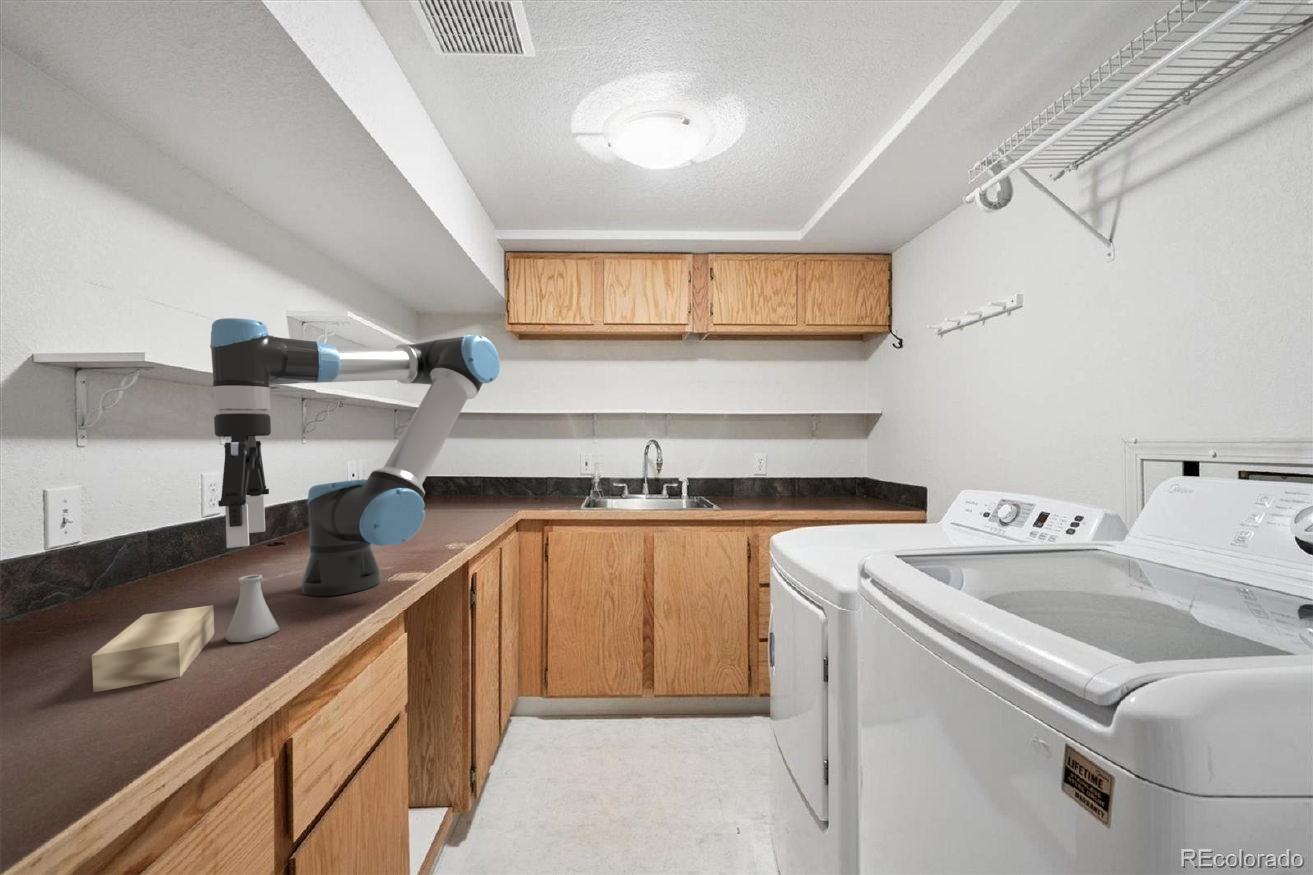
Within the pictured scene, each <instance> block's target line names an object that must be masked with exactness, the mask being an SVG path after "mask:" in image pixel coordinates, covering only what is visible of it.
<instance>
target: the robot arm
mask: <svg viewBox="0 0 1313 875" xmlns="http://www.w3.org/2000/svg"><path fill="white" fill-rule="evenodd" d="M209 347H210V349H211V351H210V352H211V353H210V354H211V365H212V366H211V367H212V380H213V381H212V386H213V392H210V393H209V394H208V396H209V397H208V398H210V399H211V400H213V408H214V411H216V412H218V414H215V416H213V420H214V421H213V422H214V423H213V424H214V435H215V436H216V437H219V438H221V437H222V438H226V437H229V438H231V440H230V442H229V441H228V442H225V443H224V445H223V446H224V447H223V448H224V464H223V474H222V475H223V476H222V486H221V496H220V500H218V501H217V502H218V503H217V504H218V505H217V506H218V507H224V510H225V532H226V533H225V534H226V535H225V536H226V537H225V538H226V548H227V549H230V548H240V547H242V548H243V547H248V546H250V534H253V533H263V532H265V531H266V518H265V517H266V516H265V515H266V512H265V496H266V495H270V488H267V485H266V479H265V470H264V464H263V457H262V447H261V446H262V442H261V440H257V439H256V437H264V436H265V437H267V436H270V435H271V433H272V427H271V426H272V425H271V423H272V422H271V415H270V414H269V413H268V414H267V412H268V411H270V410H271V392H270V391H271V388H270V386H272V385H293V384H320V383H345V382H346V383H347V382H371V381H372V382H373V381H374V382H375V381H397V382H399V383H401V384H406V385H408V384H417V385H418V384H419V385H430V386H429V388H428V390H427V391H426V393H425V395H424V396H423V398H422V400H421V402H420V404H419V405H418V408H417V409H416V411H415V412H414V414H413V416H412V417H411V419H410V421H409V422H408V424H407V426H406V428H405V429H404V432H402V434H401V436H400V438H399V440H398V441H397V443H396V445H395V447H394V448H393V450H392V452H391V454H390V455H389V457H388V459H387V460H386V462H385V464H384V466H383V467H382V468H377V469H374V470H372V471H371V472H370V474H369V476H368V477H367V479H365V478H363V479H351V480H344V481H336V482H330V483H328V482H327V483H321V484H316V485H314V486H311V487H310V488H309V490H308V496H307V502H306V505H307V508H308V509H307V510H308V529H309V530H308V532H309V534H308V535H309V558H308V561H307V564H306V568H305V571H304V574H303V577H302V579H301V593H302V594H303V595H306V596H310V597H331V596H339V595H345V594H346V595H347V594H350V593H351V594H352V593H356V592H360V591H363V590H367V589H370V588H373V587H375V586H377V585H378V584H381V581H382V570H381V568H380V566H379V564H378V561H377V559H376V556H375V554H374V551H373V549H372V545H374V546H380V547H381V546H382V547H385V546H395V545H397V546H398V545H400V544H403V543H406V542H407V541H409V540H410V539H412V538H413V537H414V536H415V535H416V534H417V533H418V532H419V531H420V529H421V528H422V525H423V523H424V521H425V519H426V518H425V517H426V510H424V508H425V507H426V506H425V502H424V498H425V496H426V495H425V494H426V491H425V489H424V487H423V483H424V482H425V480H426V478H427V476H428V474H429V472H430V470H431V468H432V466H433V465H434V463H435V462H436V461H435V460H436V459H437V457H438V455H439V453H440V451H441V449H442V447H443V445H444V444H445V442H446V440H447V438H448V436H449V435H450V432H451V431H452V429H453V427H454V424H455V423H456V421H457V419H458V417H459V415H460V414H461V412H462V410H463V408H464V406H465V404H466V402H467V400H473V399H474V398H476V397H477V395H478V394H479V392H480V390H481V388H482V386H483V384H490V383H491V382H494V381H495V380H496V379H497V378H498V376H499V372H500V370H501V368H500V367H501V363H500V362H501V360H500V358H499V353H498V350H497V349H496V347H495V345H494V344H493V343H492V341H491V340H490V339H488V338H487V337H485V336H483V335H479V334H478V335H472V334H467V335H464V336H458V337H449V338H442V339H434V340H429V341H424V342H420V343H414V344H413V343H412V344H411V343H410V344H404V343H403V344H398V345H397V346H396V347H394V348H393V347H392V348H391V347H389V348H388V347H384V348H383V347H338V346H337V347H335V346H334V345H333V344H331V343H327V342H326V343H325V342H321V341H318V340H303V339H293V338H286V337H285V338H284V337H279V336H278V337H277V336H274V335H269V331H268V327H267V325H266V323H264V322H263V321H258V320H256V319H255V320H254V319H249V318H248V319H247V318H236V317H235V318H234V317H231V318H230V317H227V318H225V317H224V318H220V319H219V318H218V319H216V320H214V321H213V322H212V324H211V331H210V345H209Z"/></svg>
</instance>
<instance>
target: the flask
mask: <svg viewBox="0 0 1313 875" xmlns="http://www.w3.org/2000/svg"><path fill="white" fill-rule="evenodd" d="M263 579H264V578H263V575H261V574H249V575H245V576H244V575H243V576H242V577H238V578H237V581H238V583H239V584H240V593H239V597H238V602H237V605H236V608H235V611H234V614H233V616H232V618H231V620H230V624H229V626H228V629H227V630H226V633H225V636H224V639H225V640H226V641H227V642H229V643H249V642H251V641H252V642H253V641H256V640H259V639H262V638H266V637H269V636H271V635H273V634H274V633H277V632H278V631H280V630H281V629H280V627H279V625H278V624H277V621H276V619H275V618H274V616H273V614H272V612H271V611H270V608H269V606H268V604H267V603H266V601H265V600H266V599H265V597H264V594H263V590H262V586H261V585H262V584H261V580H263Z"/></svg>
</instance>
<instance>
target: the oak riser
mask: <svg viewBox="0 0 1313 875" xmlns="http://www.w3.org/2000/svg"><path fill="white" fill-rule="evenodd" d="M214 613H215V612H214V605H213V604H212V605H205V606H197V607H191V608H190V607H189V608H183V609H175V610H167V611H162V612H161V611H159V612H154V613H145V614H142V615H141V616H140V617H138V618H137V619H136V620H135V621H133V622H132V623H131V624H130V625H129V626H127V627H126V628H124V629H123V631H121V632H120V633H118V635H116V636H115V637H114V638H112V639H111V640H110V641H108V642H107V643H106V644H105V645H103V646H102V647H100V648H99V649H98V650H97V651H96V652H95V653H93V654H92V655H91V665H92V666H91V667H92V687H93V688H92V690H93V693H98V692H105V691H110V690H115V689H120V688H121V689H122V688H126V687H127V688H128V687H131V686H138V685H142V684H147V683H148V684H149V683H153V682H159V681H165V680H171V679H177V678H181V677H182V676H183V674H184V673H185V672H186V670H187V669H188V668H189V667H190V665H191V664H192V663H193V662H194V661H195V659H196V658H197V656H199V654H200V653H201V652H202V651H203V650H204V648H205V647H206V645H207V644H208V643H209V642H210V640H211V639H212V638H213V637H214V635H215V620H214V619H215V618H214Z"/></svg>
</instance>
